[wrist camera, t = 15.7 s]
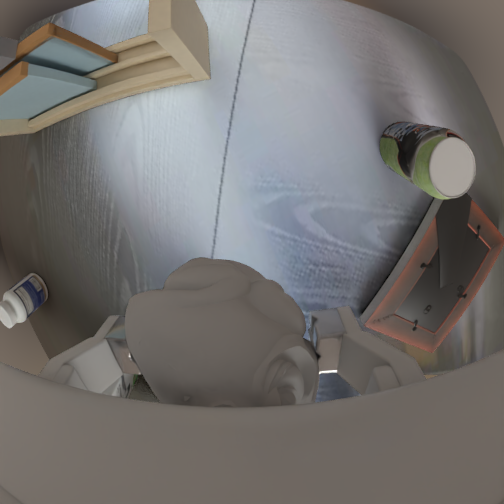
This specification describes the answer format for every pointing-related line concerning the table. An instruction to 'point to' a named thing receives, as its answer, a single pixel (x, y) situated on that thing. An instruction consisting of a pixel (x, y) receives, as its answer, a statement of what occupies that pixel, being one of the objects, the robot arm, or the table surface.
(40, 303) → the pill bottle
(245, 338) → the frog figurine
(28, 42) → the window pane
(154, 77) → the window frame
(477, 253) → the picture frame
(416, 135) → the beverage can
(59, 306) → the table surface
